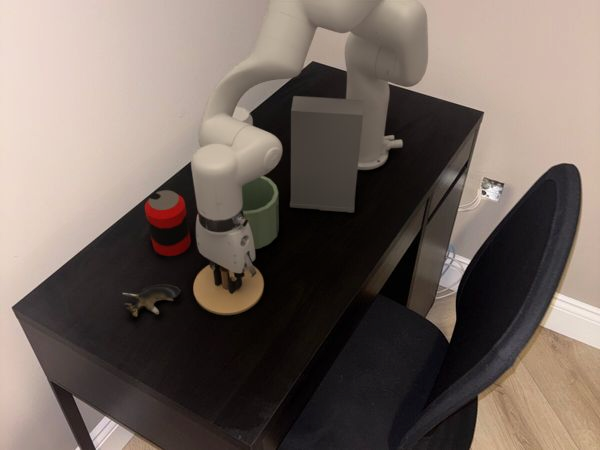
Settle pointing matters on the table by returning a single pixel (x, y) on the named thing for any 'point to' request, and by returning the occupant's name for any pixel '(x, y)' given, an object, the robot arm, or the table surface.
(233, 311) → the lid
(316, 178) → the tall grey box
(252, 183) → the canister
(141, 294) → the eagle figurine
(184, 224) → the soda can
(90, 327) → the table surface
